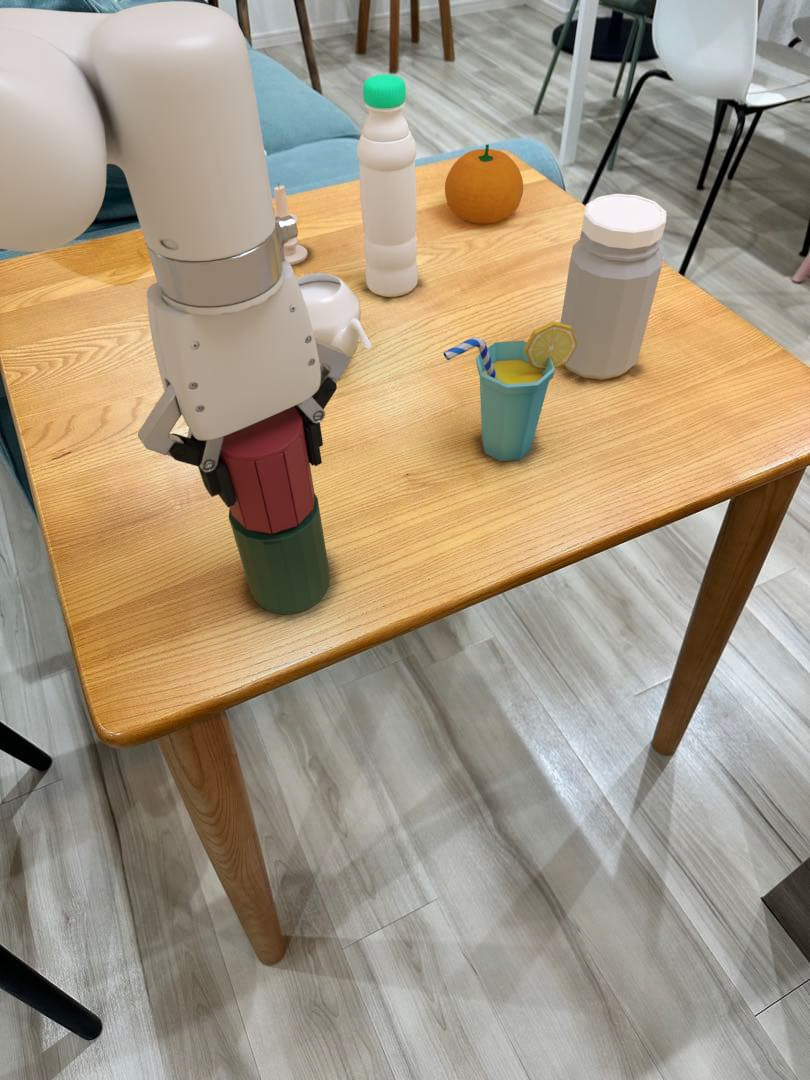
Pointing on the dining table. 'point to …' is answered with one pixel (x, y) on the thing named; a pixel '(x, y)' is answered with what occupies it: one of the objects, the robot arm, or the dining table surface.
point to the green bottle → (285, 564)
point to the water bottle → (388, 189)
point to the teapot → (333, 312)
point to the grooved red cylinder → (270, 473)
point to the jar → (613, 283)
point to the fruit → (484, 186)
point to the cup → (516, 385)
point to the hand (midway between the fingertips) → (266, 473)
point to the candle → (291, 248)
